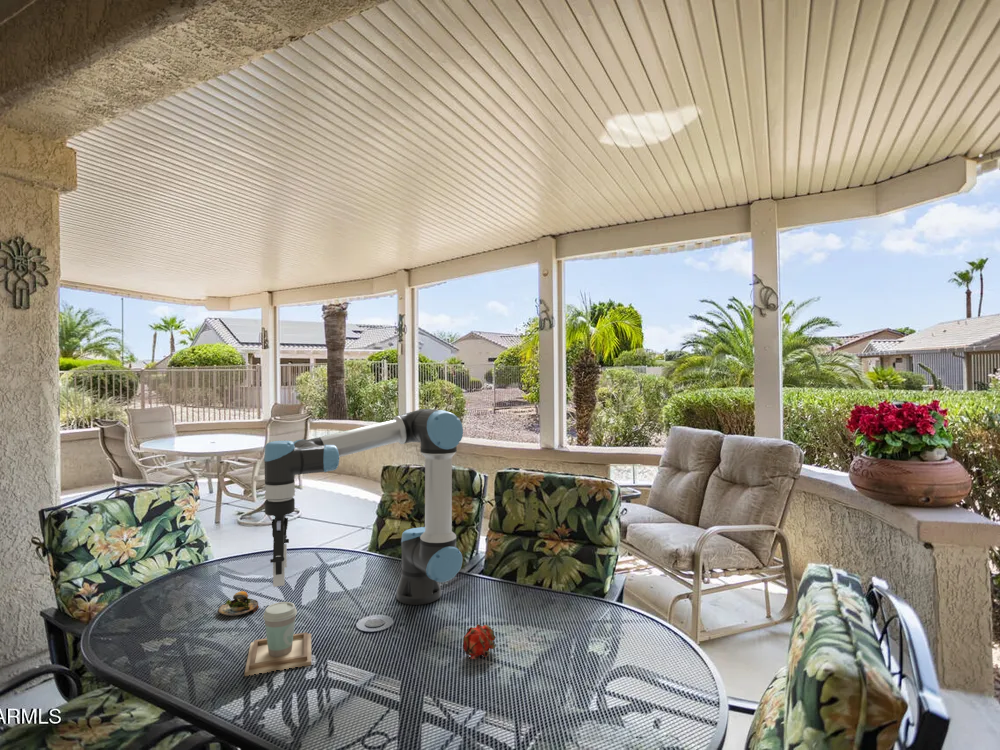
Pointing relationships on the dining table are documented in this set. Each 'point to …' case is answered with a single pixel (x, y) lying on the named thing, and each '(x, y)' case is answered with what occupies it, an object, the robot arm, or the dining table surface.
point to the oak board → (265, 663)
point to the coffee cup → (280, 627)
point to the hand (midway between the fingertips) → (280, 576)
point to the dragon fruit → (478, 641)
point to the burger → (239, 605)
